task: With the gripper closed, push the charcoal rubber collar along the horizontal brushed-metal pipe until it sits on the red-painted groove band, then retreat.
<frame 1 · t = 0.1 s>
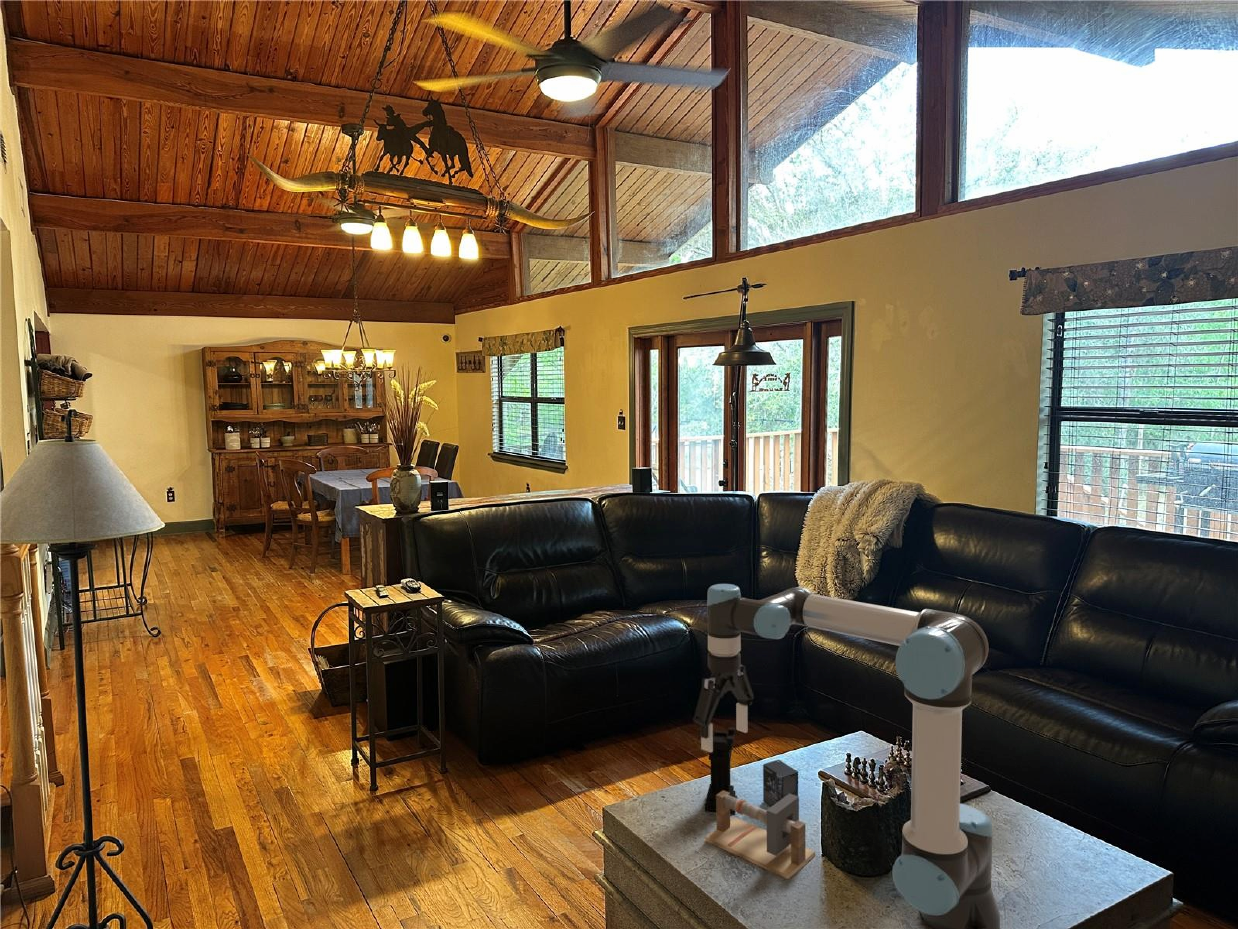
hand: (725, 740, 184), 28 cm above the table, fingers open, 13 cm apart
box: (780, 806, 207), on the table
ring: (783, 824, 183), point 8 cm above the table, slide at 0.0 cm
pipe rig: (759, 848, 188), on the table
chess piece: (720, 806, 208), on the table
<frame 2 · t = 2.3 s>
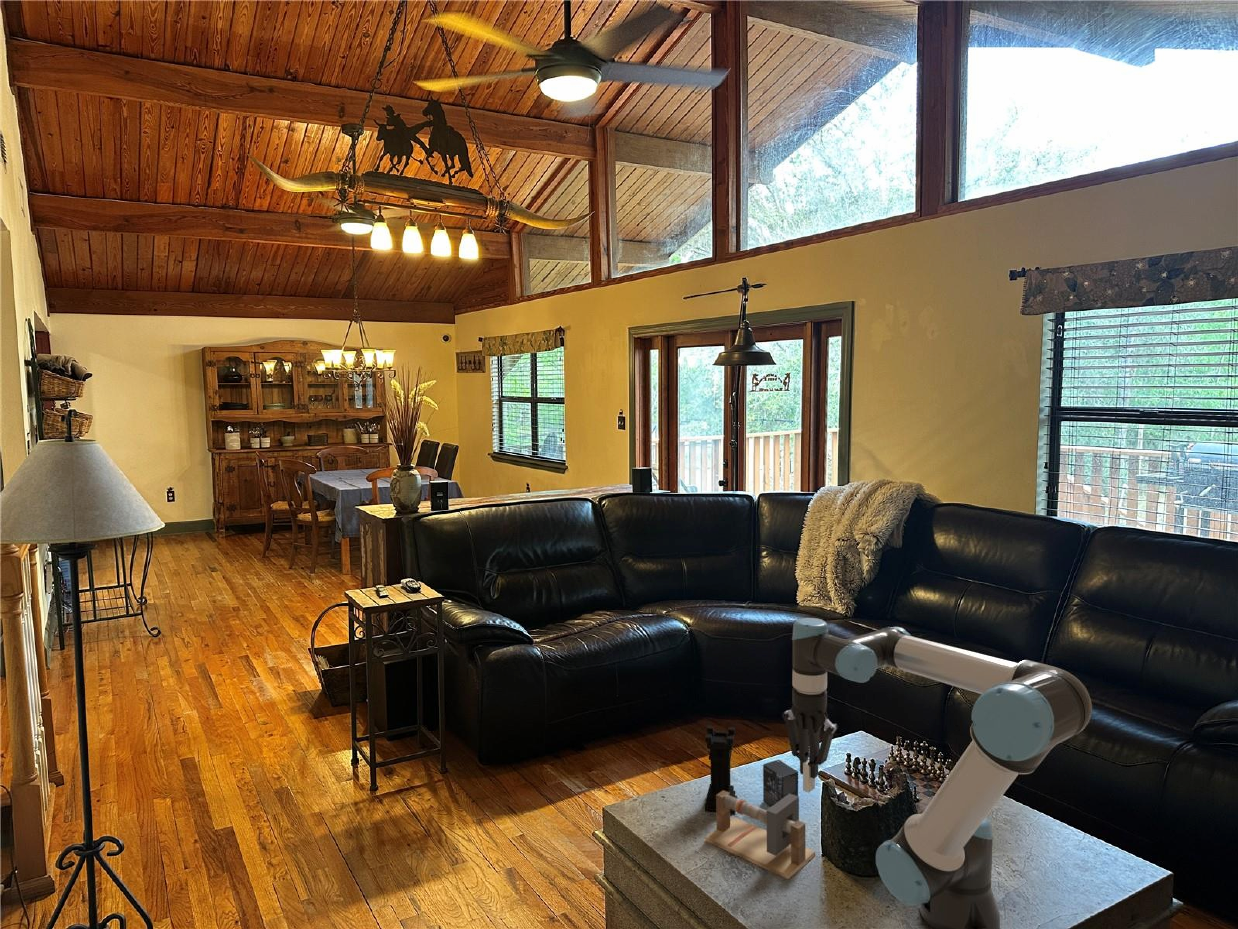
hand: (808, 789, 178), 19 cm above the table, fingers closed
nothing on the table moved.
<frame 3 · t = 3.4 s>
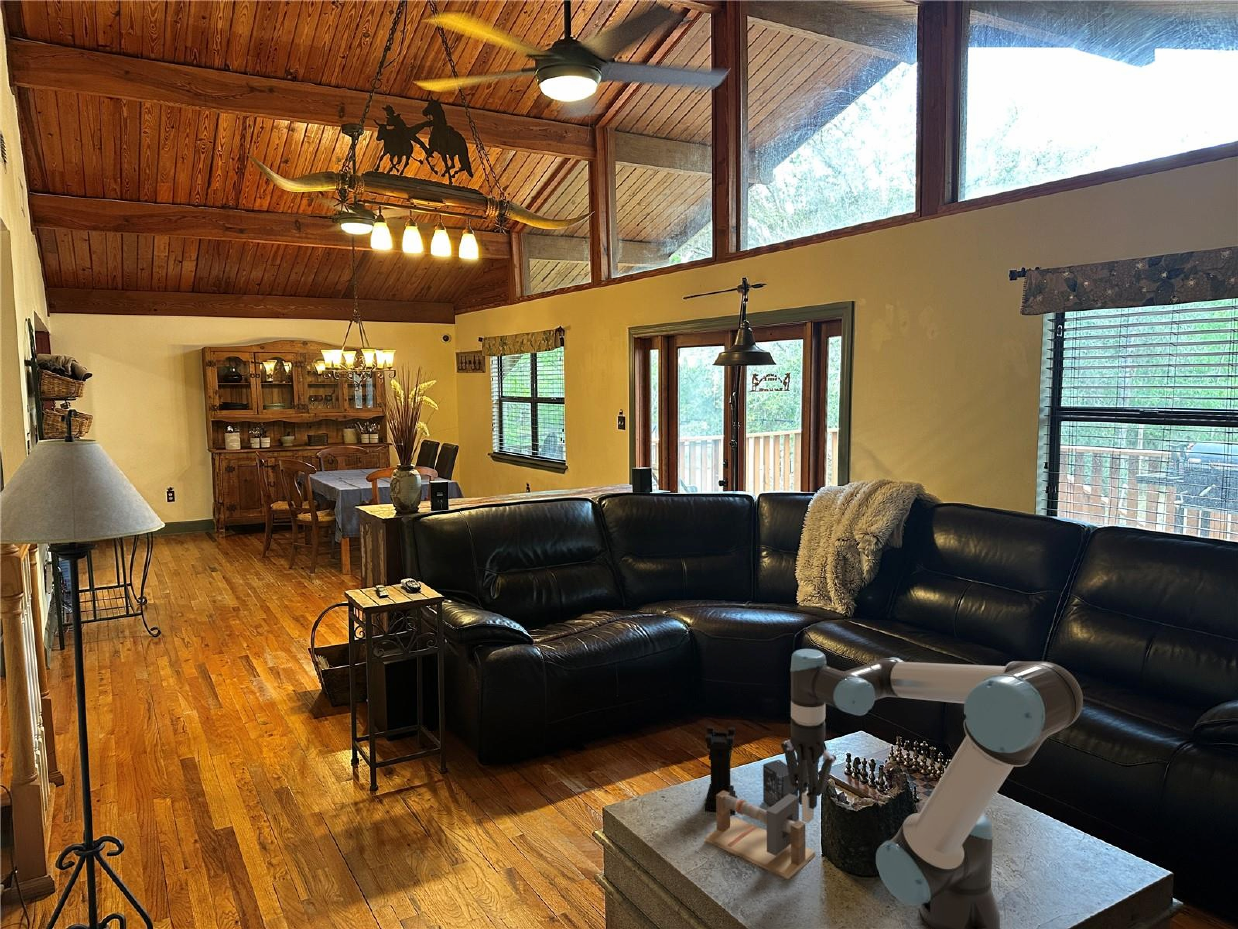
hand: (807, 819, 178), 12 cm above the table, fingers closed
nothing on the table moved.
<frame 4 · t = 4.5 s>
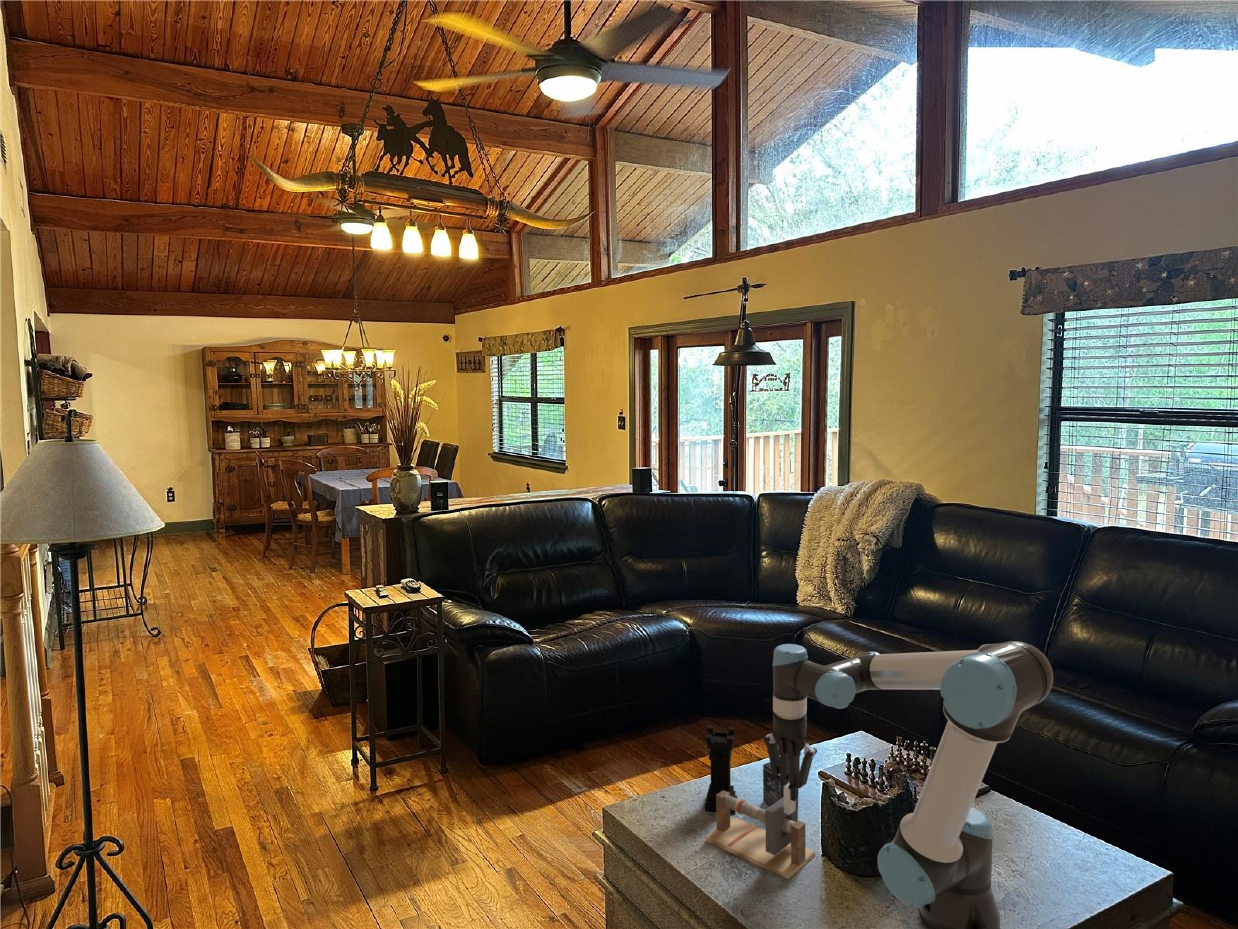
hand: (789, 811, 182), 12 cm above the table, fingers closed
ring: (781, 823, 183), point 8 cm above the table, slide at 0.3 cm, touching gripper
everything else where it was.
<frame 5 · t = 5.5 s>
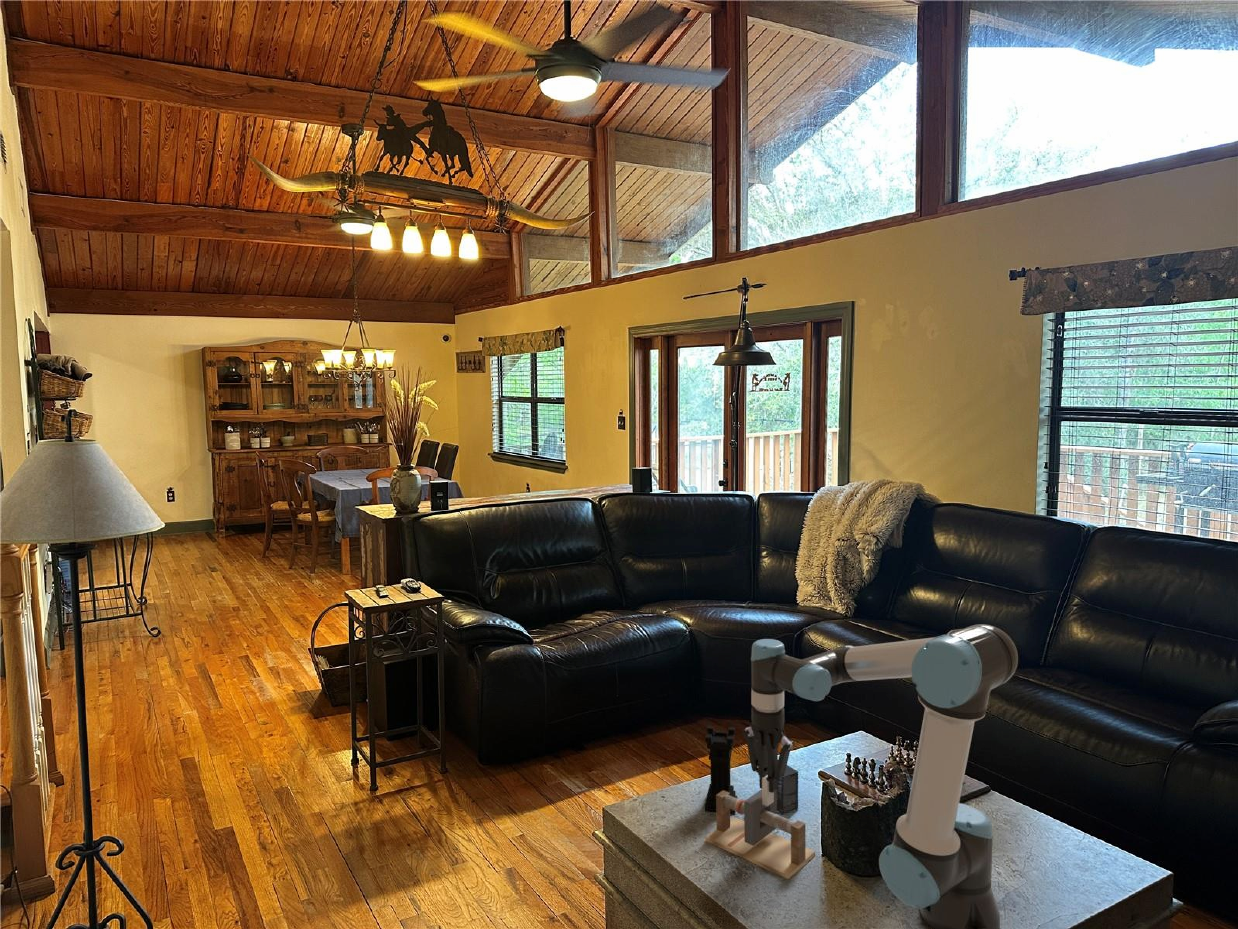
hand: (767, 803, 186), 12 cm above the table, fingers closed
ring: (760, 815, 187), point 8 cm above the table, slide at 6.1 cm, touching gripper
everything else where it was.
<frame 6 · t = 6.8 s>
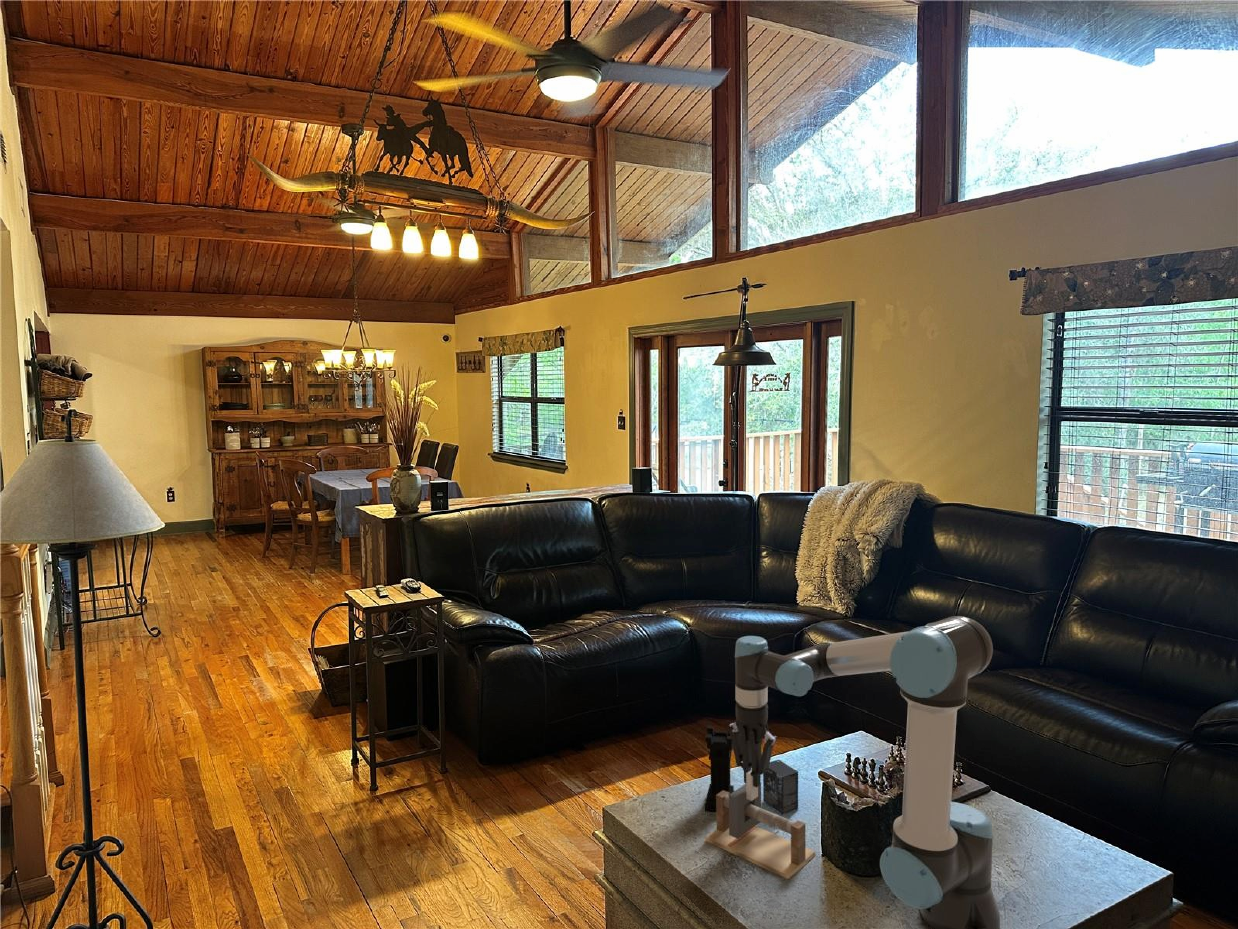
hand: (752, 797, 189), 12 cm above the table, fingers closed
ring: (745, 808, 190), point 8 cm above the table, slide at 10.4 cm, touching gripper
everything else where it was.
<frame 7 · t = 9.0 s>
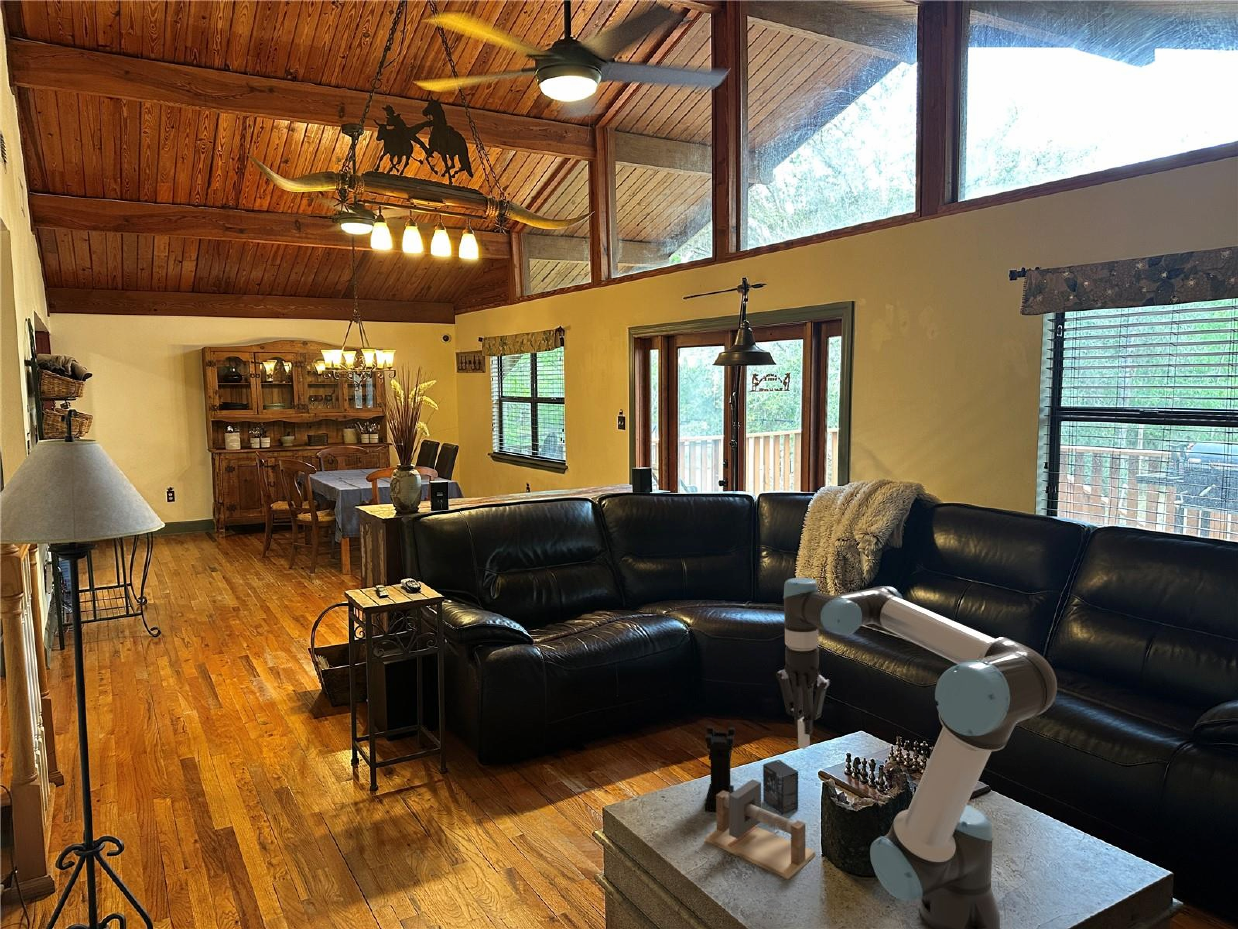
hand: (804, 746, 182), 27 cm above the table, fingers closed
ring: (745, 808, 190), point 8 cm above the table, slide at 10.5 cm
everything else where it was.
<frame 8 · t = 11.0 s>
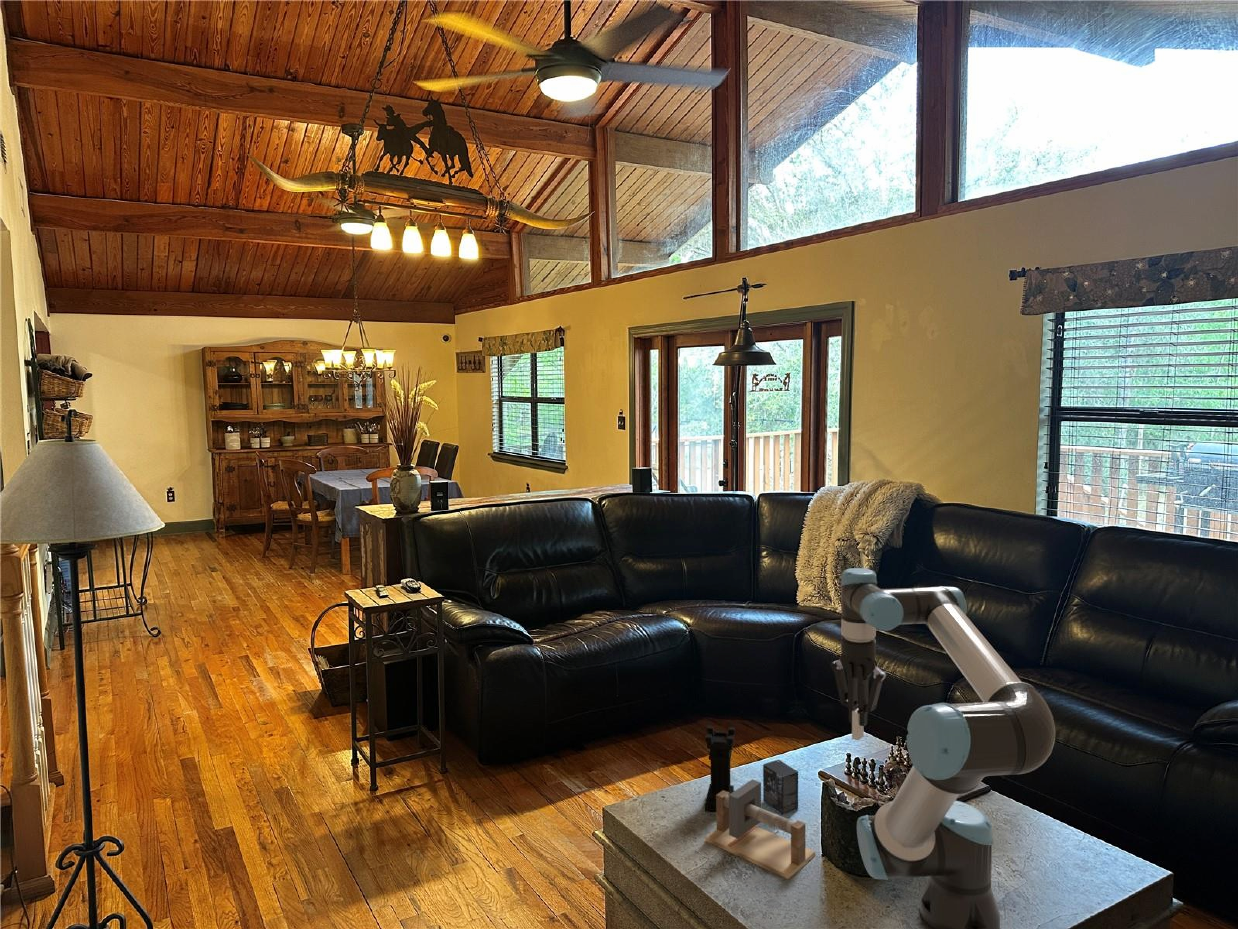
hand: (857, 737, 180), 29 cm above the table, fingers closed
nothing on the table moved.
at the end: ring slide at 10.5 cm; the gripper is holding nothing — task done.
